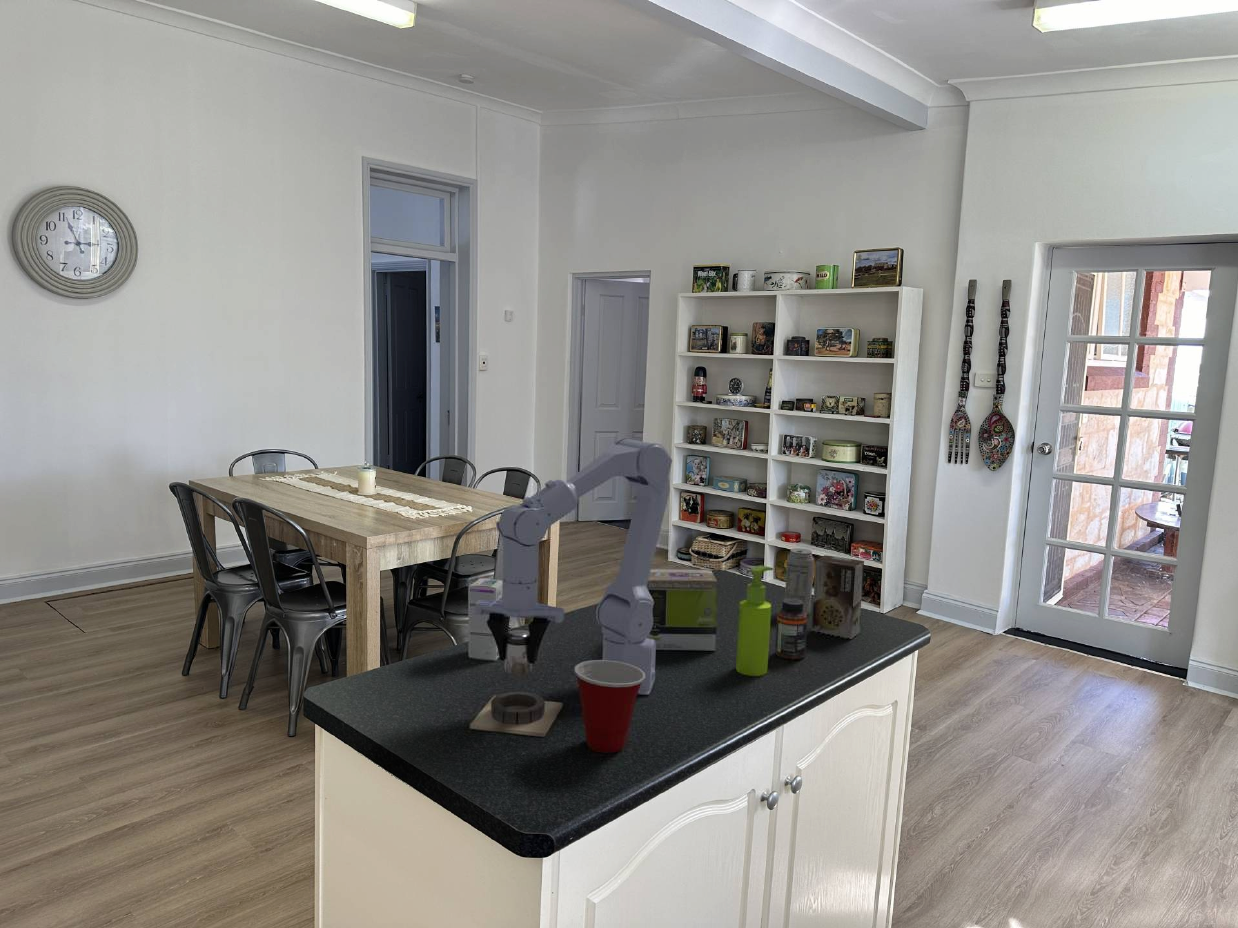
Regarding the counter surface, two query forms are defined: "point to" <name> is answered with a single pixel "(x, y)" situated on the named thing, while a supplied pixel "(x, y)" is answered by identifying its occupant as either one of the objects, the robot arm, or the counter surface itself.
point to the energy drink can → (800, 577)
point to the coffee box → (837, 596)
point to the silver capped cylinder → (517, 652)
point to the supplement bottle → (791, 630)
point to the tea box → (683, 609)
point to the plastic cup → (607, 701)
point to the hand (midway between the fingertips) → (518, 660)
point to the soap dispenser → (754, 627)
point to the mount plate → (517, 729)
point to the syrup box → (482, 619)
